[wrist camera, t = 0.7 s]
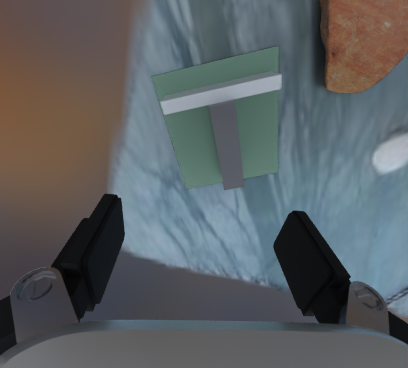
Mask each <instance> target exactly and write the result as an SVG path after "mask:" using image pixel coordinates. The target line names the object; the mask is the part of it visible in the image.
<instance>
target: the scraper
mask: <svg viewBox="0 0 408 368" xmlns="http://www.w3.org/2000/svg"><path fill="white" fill-rule="evenodd" d="M281 79H282V74H279V73H275V72H272V71H269V72H265V73H261V74H256V75H252V76H248V77H243V78H239V79H235V80H230V81H226V82H222V83H217V84H213V85H209V86H205V87H200V88H196V89H192V90H187V91H183V92H179V93H174V94H170V95H166V96H164V98H163V99H162V100H161V102H160V103H161V106H162V109H163V113H164V115H166V114H170V113H175V112H179V111H184V110H188V109H193V108H197V107H202V106H206V105H209V110H210V115H211V121H212V126H213V132H214V137H215V143H216V148H217V154H218V159H219V164H220V170H221V175H222V181H223V186H224V190H227V189H233V188H239V187H244V177H243V168H242V159H241V150H240V141H239V132H238V123H237V114H236V105H235V100H234V99H238V98H242V97H247V96H251V95H256V94H260V93H265V92H269V91H274V90H278V89H281Z"/></svg>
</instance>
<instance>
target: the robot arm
mask: <svg viewBox="0 0 408 368" xmlns="http://www.w3.org/2000/svg"><path fill="white" fill-rule="evenodd" d="M124 236H125V232H124V221H123V211H122V201H121V198H118V196H117V195H114V194H104V195H103V197H102V198H101V200H100V202H99V203H98V205H97V206H96V208H95V210H94V211H93V213H92V214H91V216H90V217H89V218H84V219H83V220H82V221H81V222H80V224H79V225H78V227H77V228H76V230H75V231H74V233H73V234H72V236H71V237H70V239H69V240H68V242H67V243H66V245H65V246H64V248H63V249H62V250H61V252H60V253H59V255H58V256H57V258H56V259H55V261H54V262H53V264H52V266H51V267H44V268H39V269H36V270H33V271H31V272H30V273H28V274H26V275H25V276H23V277H22V278H21V279H19V280H18V282H17V283H16V284H15V285H14V287H13V288H12V290H11V295H10V296H8V297H6V298H4V299H2V300H0V368H408V324H407V323H406V322H404V321H403V320H401V319H400V318H398V317H397V316H395V315H394V314H392V313H391V312H389V311H388V308H387V304H386V302H385V301H384V299H383V298H382V296H381V295H380V294H379V293H378V292H377V291H376V290H375V289H373V288H372V287H370V286H369V285H367V284H365V283H363V282H359V281H353V282H352V283H351V282H350V280H349V278H350V277H351V276H350V275H349V274H348V272H347V271H346V269H345V268H344V266H343V265H342V264H341V262H340V261H339V259H338V258H337V256H336V255H335V254H334V252H333V251H332V249H331V248H330V247H329V245H328V244H327V242H326V241H325V239H324V238H323V237H322V235H321V234H320V232H319V231H318V229H317V228H316V227H315V225H314V224H313V222H312V221H311V220H310V218H309V217H308V215H307V214H306V213H305V212H304V211H292V213H289V215H288V217H287V219H286V221H285V223H284V225H283V227H282V229H281V230H280V232H279V234H278V236H277V238H276V240H275V242H274V246H273V247H274V251H275V253H276V256H277V258H278V261H279V263H280V266H281V268H282V271H283V273H284V275H285V278H286V280H287V283H288V285H289V288H290V290H291V293H292V295H293V297H294V300H295V302H296V305H297V307H298V308H299V309H301V311H302V313H303V316H314V315H315V317H316V319H317V321H316V323H295V322H248V321H246V322H245V321H186V320H185V321H184V320H183V321H182V320H179V321H178V320H103V321H88V322H80V319H81V318H82V317H83V316H84V314H85V311H93V310H94V307H95V305H96V304H99V303H100V302H101V299H102V297H103V294H104V291H105V288H106V286H107V283H108V281H109V278H110V275H111V273H112V270H113V267H114V265H115V262H116V259H117V256H118V254H119V251H120V249H121V246H122V243H123V241H124Z"/></svg>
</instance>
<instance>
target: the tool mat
mask: <svg viewBox="0 0 408 368" xmlns="http://www.w3.org/2000/svg"><path fill="white" fill-rule="evenodd" d="M269 71H272V72H275V73H278V71H279V46H275V47H271V48H267V49H263V50H259V51H254V52H250V53H246V54H242V55H238V56H234V57H230V58H226V59H221V60H217V61H213V62H209V63H205V64H201V65H197V66H193V67H188V68H184V69H180V70H176V71H172V72H168V73H164V74H160V75H155V76H152V81H153V84H154V87H155V90H156V93H157V96H158V100H159V103H160V102H161V100H162V99H163V98H164V96H166V95H170V94H174V93H179V92H183V91H187V90H192V89H196V88H200V87H205V86H209V85H213V84H217V83H222V82H226V81H230V80H235V79H239V78H243V77H248V76H252V75H256V74H261V73H265V72H269ZM234 100H235V105H236V114H237V123H238V132H239V141H240V150H241V159H242V168H243V177H244V178H250V177H255V176H261V175H266V174H271V173H277V172H278V90H274V91H269V92H265V93H260V94H256V95H251V96H247V97H242V98H238V99H234ZM160 106H161V103H160ZM161 109H162V106H161ZM162 112H163V109H162ZM163 116H164V119H165V122H166V125H167V128H168V131H169V135H170V138H171V141H172V144H173V147H174V151H175V154H176V157H177V160H178V163H179V166H180V170H181V173H182V176H183V179H184V182H185V185H186V189H190V188H195V187H201V186H206V185H212V184H217V183H223V181H222V175H221V170H220V164H219V159H218V154H217V148H216V143H215V137H214V132H213V126H212V121H211V115H210V110H209V105H206V106H202V107H197V108H193V109H188V110H184V111H179V112H175V113H170V114H166V115H164V113H163Z"/></svg>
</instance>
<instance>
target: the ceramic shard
mask: <svg viewBox="0 0 408 368" xmlns="http://www.w3.org/2000/svg"><path fill="white" fill-rule="evenodd" d="M320 5H321V24H320V31H321V38H322V42H323V44H324V47H325V50H326V64H325V88H326V89H327V90H330V91H333V92H336V93H360V92H363V91H365V90H367V89H368V88H370V87H372V86H374V85H375V84H377V83H378V82H379V81H380V80H382V79H383V78H384V77H385V76H386V75H387V74H388V73H389V72H390V71H391V70H392V69H393V68H394V67H395V66H396V65H397V64H398V63H399V62H400V61H401V60H402V58H403V57H404V56H405V55H406V54H407V53H408V0H320Z"/></svg>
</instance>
